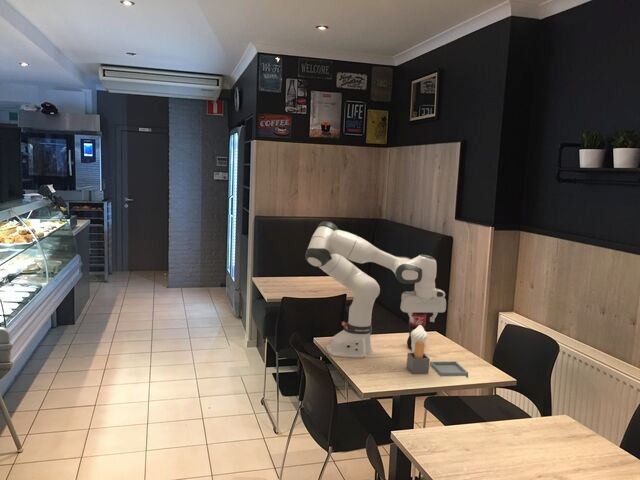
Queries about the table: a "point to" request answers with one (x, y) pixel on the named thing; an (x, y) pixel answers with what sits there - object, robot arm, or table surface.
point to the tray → (449, 368)
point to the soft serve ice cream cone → (418, 336)
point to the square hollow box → (418, 364)
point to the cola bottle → (416, 324)
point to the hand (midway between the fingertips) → (421, 321)
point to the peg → (419, 349)
